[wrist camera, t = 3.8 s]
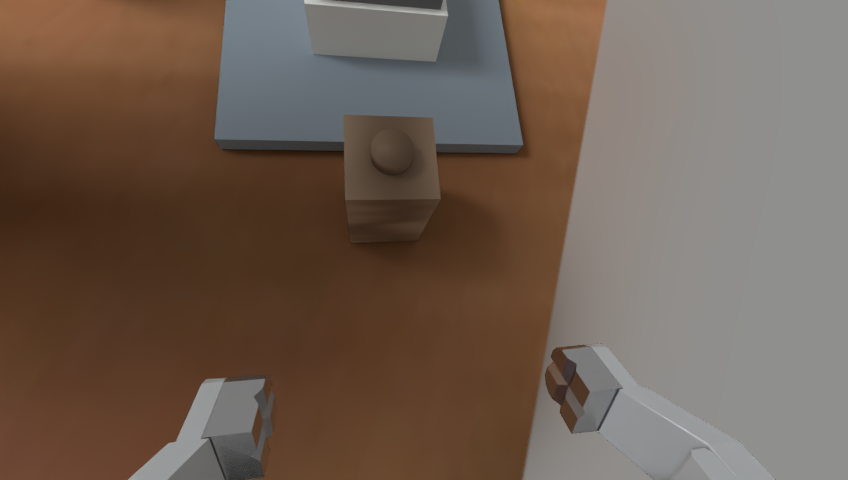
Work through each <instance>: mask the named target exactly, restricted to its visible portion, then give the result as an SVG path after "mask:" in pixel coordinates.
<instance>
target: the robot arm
mask: <svg viewBox="0 0 848 480" xmlns="http://www.w3.org/2000/svg"><path fill="white" fill-rule="evenodd" d="M551 358H552V360H553V362H552V363H551V364H550V365H549V366H548V367H547V370H546V373H545V380H546V385H547V389H548V392H549V394H550V396H551V397H552V399H553V400H554V401H556V402H557V403H559V404H560V405H561V407H560V414H561V416H562V417H563V419H564V421H565V423H566V425H567V426H568V428H569V430H570V432H571V433H572V434H573V433H582V432H592V431H599V433H600V434H601V435H602V436H603V437H604V438H606V439H607V440H608V441H609V442H610V443H612V445H614V446H615V447H616V448H617V449H618V450H620V451H621V452H622V453H623V454H624V455H625V456H626V457H628V458H629V459H630V460H631V461H632V462H633V463H635V464H636V465H637V466H638V467H639V468H641V469H642V470H643V471H644V472H646V474H647V475H649V476H650V477H651V478H652V479H653V480H775V479H774V477H773V476H772V475H771V474H770V473H769V472H768V471H767V470H766V469H765V468H764V467H763V466H762V465H761V464H760V463H759V462H758V461H757V460H756V459H755V458H754V457H753V456H752V455H751V453H750V452H749V451H748V450H747V449H746V448H745V447H744V446H743V445H742V444H741V443H740V442H739V441H737V440H736V439H734V438H732V437H731V436H729V435H727V434H726V433H724V432H722V431H720V430H719V429H717V428H715V427H714V426H712V425H710V424H708V423H707V422H705V421H703V420H702V419H700V418H698V417H697V416H695V415H693V414H691V413H690V412H688V411H686V410H685V409H683V408H681V407H679V406H678V405H676V404H674V403H673V402H671V401H669V400H667V399H666V398H664V397H662V396H660V395H659V394H657V393H655V392H654V391H652V390H650V389H649V388H647V387H645V386H644V387H640V386H639V385H638V383H637V382H636V381H635V380H634V379H633V377H632V376H631V375H630V374H629V373H628V371H627V370H626V369H625V368H624V367H623V365H622V364H621V363H620V362H619V360H618V359H617V358H616V357H615V356H614V354H613V353H612V352H611V351H610V350H609V349H608V347H607V346H605V345H604V344H602V343H600V344H590V345H578V346H568V347H559V348H555V349H554V350H553V352H552V355H551ZM271 387H272V380H271V377H270V375H255V376H240V377H227V378H215V379H206V380H205V381H204V382H203V383H202V384H201V386H200V388H199V390H198V393H197V395H196V397H195V399H194V402H193V404H192V406H191V408H190V411H189V413H188V415H187V417H186V420H185V422H184V424H183V426H182V429H181V431H180V433H179V435H178V438H177V440H176V442H172V443H168V444H167V445H166V446H165V447H163V448H162V449H161V450H160V451H159V452H158V453H157V454H156V455H155V456H153V457H152V458H151V459H150V460H149V461H148V462H147V463H146V464H145V465H143V466H142V467H141V468H140V469H139V470H138V471H137V472H136V473H135V474H133V475H132V476H131V477H130V478H129V479H128V480H249V479H254V478H260V477H264V476H265V471H266V466H267V461H268V457H269V452H270V447H269V443H268V438H269V437H270V436H271V435H272V433H273V432H274V427H275V422H276V399H275V395H274V394H273V393H271V392H270V391H271Z"/></svg>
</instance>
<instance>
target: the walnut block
mask: <svg viewBox="0 0 848 480" xmlns="http://www.w3.org/2000/svg"><path fill="white" fill-rule="evenodd" d="M343 123H344V173H345V204H346V212H347V221H348V229H349V237H350V243H366V242H399V241H418V239H419V237H420V236H421V234H422V232H423V230H424V228H425V227H426V225H427V223H428V221H429V219H430V218H431V216H432V214H433V212H434V210H435V209H436V207H437V205H438V203H439V202H440V200H441V196H440V185H439V175H438V164H437V154H436V144H435V133H434V123H433V118H430V117H401V116H372V115H343Z"/></svg>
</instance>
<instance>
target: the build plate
mask: <svg viewBox="0 0 848 480" xmlns="http://www.w3.org/2000/svg"><path fill="white" fill-rule="evenodd" d="M343 115H372V116H401V117H430V118H433V123H434V133H435V144H436V152H459V153H517V152H518V151H519V150H520V148H521V147H522V146H523V141H522V135H521V130H520V124H519V118H518V112H517V106H516V100H515V94H514V88H513V82H512V77H511V71H510V65H509V59H508V53H507V47H506V41H505V35H504V30H503V24H502V18H501V12H500V6H499V0H226V8H225V19H224V31H223V42H222V54H221V65H220V77H219V88H218V100H217V111H216V123H215V134H214V140H215V141H216V143H217V144H218V145H219V147H220V148H221V149H253V150H322V151H344V123H343Z"/></svg>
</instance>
